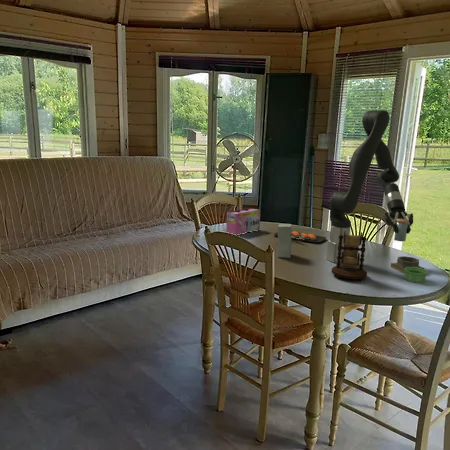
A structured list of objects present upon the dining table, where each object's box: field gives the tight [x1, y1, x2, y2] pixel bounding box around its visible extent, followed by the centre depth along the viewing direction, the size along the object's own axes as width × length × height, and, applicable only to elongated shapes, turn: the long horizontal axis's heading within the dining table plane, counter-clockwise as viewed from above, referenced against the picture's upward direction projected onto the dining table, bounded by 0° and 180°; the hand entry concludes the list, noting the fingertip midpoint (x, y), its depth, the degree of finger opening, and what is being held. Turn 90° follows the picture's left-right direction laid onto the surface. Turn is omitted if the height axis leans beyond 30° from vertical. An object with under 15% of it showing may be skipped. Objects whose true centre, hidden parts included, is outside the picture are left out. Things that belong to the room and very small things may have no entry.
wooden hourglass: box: [331, 231, 368, 282], centre depth 175 cm, size 15×15×20 cm
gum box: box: [226, 207, 261, 235], centre depth 250 cm, size 24×8×14 cm, turn 136°
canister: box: [393, 218, 409, 242], centre depth 192 cm, size 5×5×10 cm
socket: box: [390, 255, 425, 274], centre depth 187 cm, size 10×10×5 cm
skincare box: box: [277, 223, 293, 259], centre depth 203 cm, size 8×7×16 cm
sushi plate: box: [273, 230, 327, 247], centre depth 234 cm, size 29×30×4 cm
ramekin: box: [403, 267, 428, 284], centre depth 174 cm, size 9×9×4 cm
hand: (402, 232), depth 191 cm, fingers closed on canister, 5 cm apart
